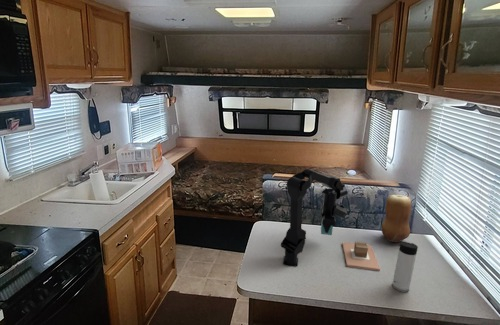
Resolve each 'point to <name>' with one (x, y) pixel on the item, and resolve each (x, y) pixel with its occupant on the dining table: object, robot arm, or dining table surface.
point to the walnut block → (360, 249)
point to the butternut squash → (397, 218)
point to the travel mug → (404, 266)
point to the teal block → (324, 230)
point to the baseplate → (360, 258)
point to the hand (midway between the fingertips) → (326, 230)
